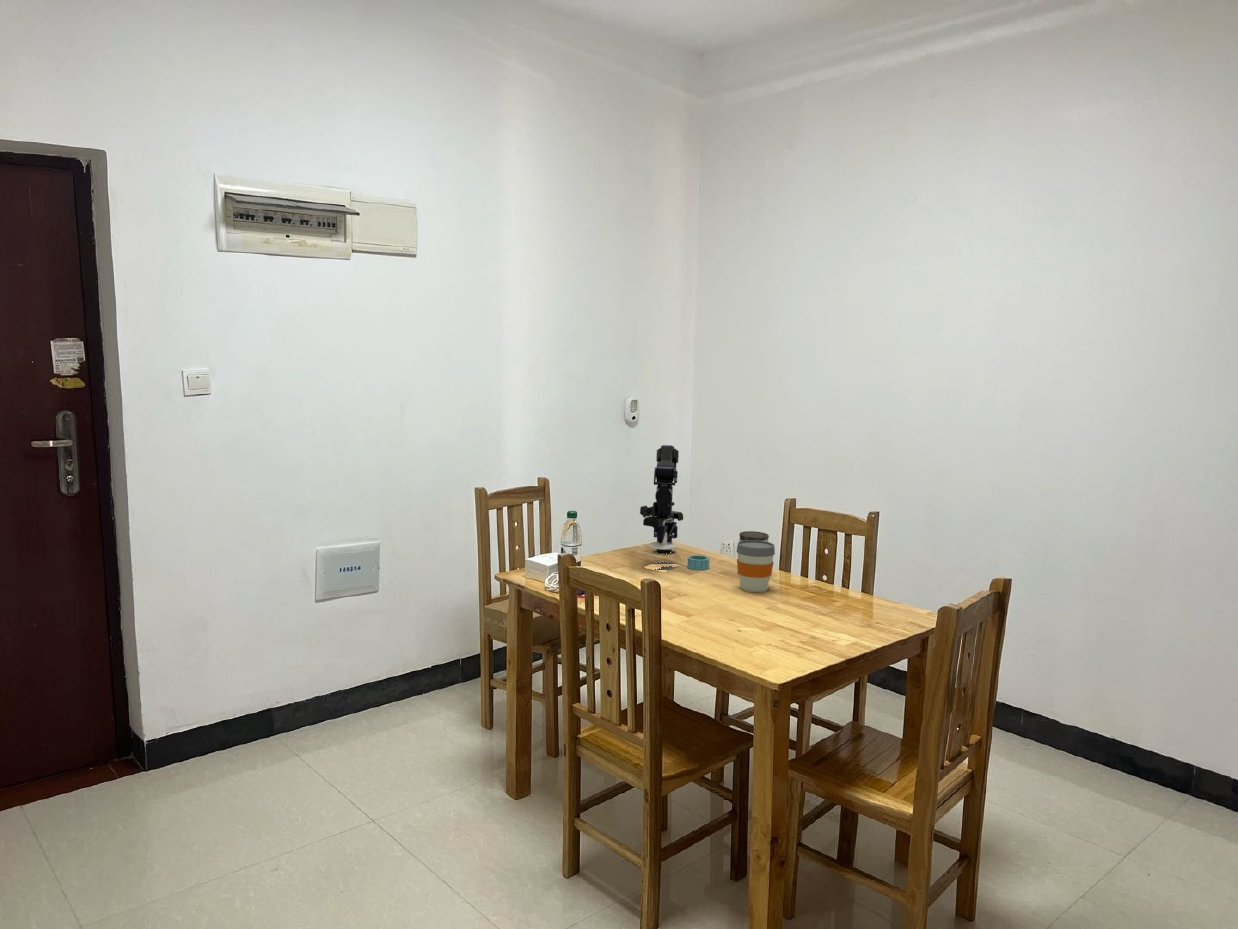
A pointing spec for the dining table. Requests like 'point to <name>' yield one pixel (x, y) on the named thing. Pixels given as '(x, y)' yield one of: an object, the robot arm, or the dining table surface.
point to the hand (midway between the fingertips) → (662, 542)
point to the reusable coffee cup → (755, 564)
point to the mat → (666, 566)
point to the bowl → (698, 562)
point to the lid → (663, 544)
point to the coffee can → (753, 536)
